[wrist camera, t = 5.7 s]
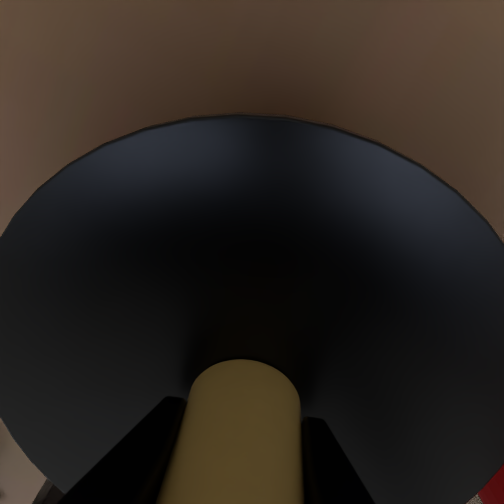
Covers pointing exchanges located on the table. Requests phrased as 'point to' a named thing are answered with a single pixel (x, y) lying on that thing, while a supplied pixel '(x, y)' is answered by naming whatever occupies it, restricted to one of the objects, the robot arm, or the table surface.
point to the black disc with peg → (256, 312)
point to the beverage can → (494, 489)
